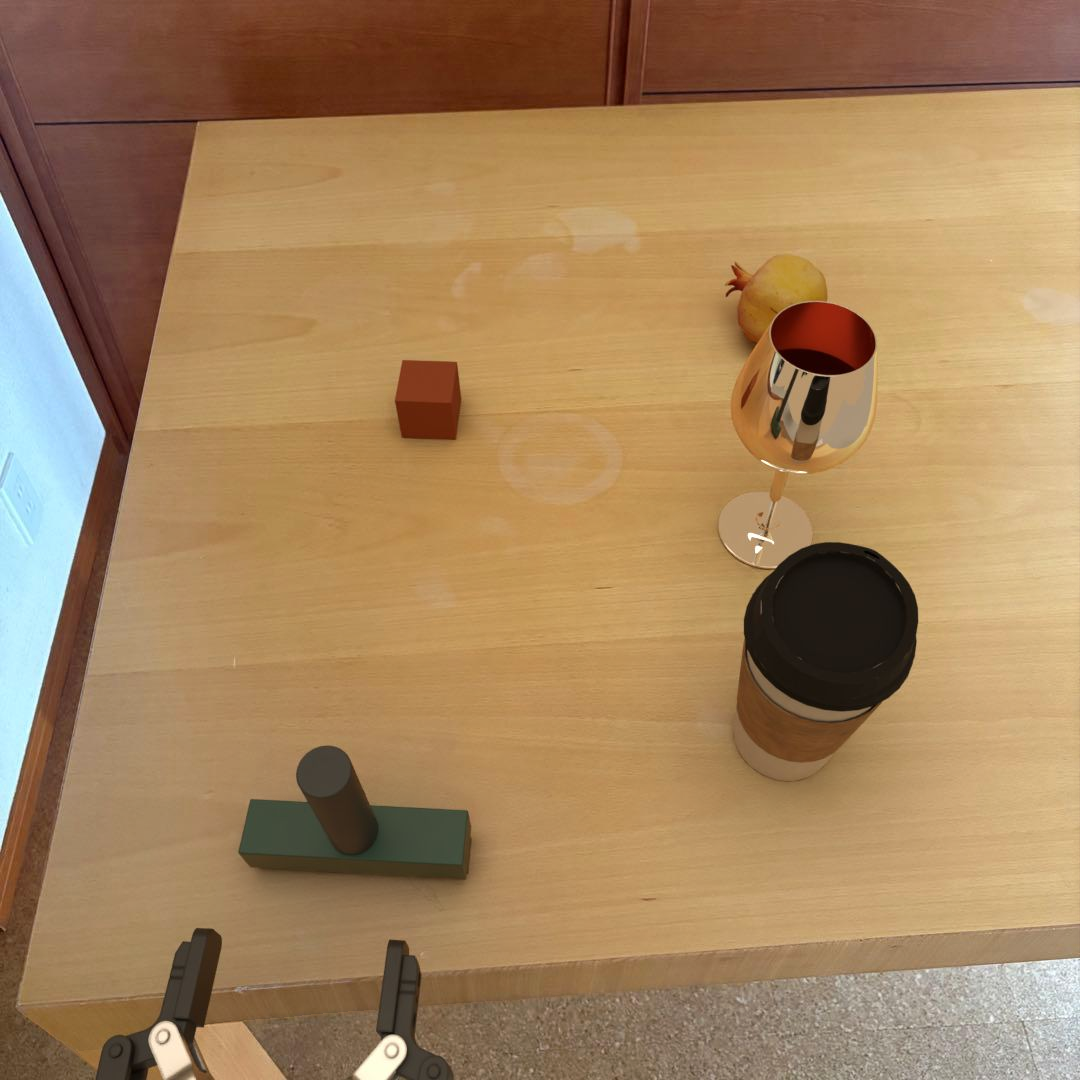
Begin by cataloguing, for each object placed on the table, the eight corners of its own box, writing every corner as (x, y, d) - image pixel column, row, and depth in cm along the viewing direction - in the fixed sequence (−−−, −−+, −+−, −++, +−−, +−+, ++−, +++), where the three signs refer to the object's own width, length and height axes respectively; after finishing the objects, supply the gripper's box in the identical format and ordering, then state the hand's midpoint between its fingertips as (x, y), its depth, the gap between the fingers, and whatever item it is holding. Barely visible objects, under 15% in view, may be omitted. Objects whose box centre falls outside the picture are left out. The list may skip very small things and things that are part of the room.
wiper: (253, 872, 56) (188, 795, 46) (264, 819, 58) (205, 734, 48) (467, 883, 56) (448, 809, 46) (472, 830, 57) (455, 747, 48)
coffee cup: (876, 716, 61) (958, 586, 49) (815, 831, 57) (887, 721, 45) (752, 648, 64) (799, 508, 51) (685, 752, 60) (720, 628, 48)
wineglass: (691, 492, 71) (727, 296, 56) (802, 474, 72) (867, 276, 57) (724, 589, 66) (773, 404, 51) (843, 569, 67) (925, 381, 52)
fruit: (877, 275, 75) (762, 219, 78) (837, 307, 71) (717, 246, 74) (842, 351, 80) (736, 296, 83) (804, 386, 75) (692, 325, 79)
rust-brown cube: (401, 437, 74) (394, 400, 71) (408, 397, 76) (402, 359, 73) (455, 439, 74) (451, 402, 71) (461, 399, 76) (457, 361, 73)
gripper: (404, 1454, 32) (456, 925, 41) (-31, 1419, 33) (115, 906, 42) (428, 1417, 38) (469, 964, 47) (62, 1389, 39) (172, 947, 48)
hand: (303, 937), depth 45 cm, fingers open, 8 cm apart
